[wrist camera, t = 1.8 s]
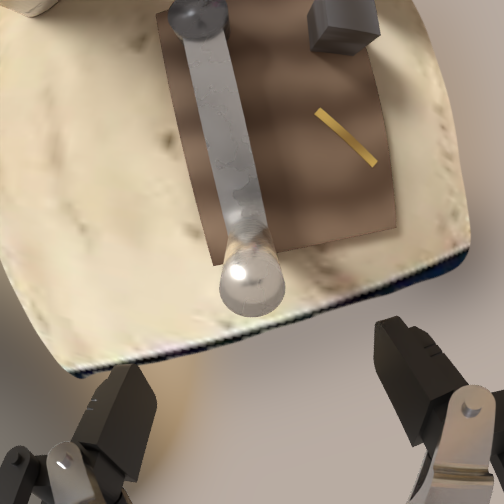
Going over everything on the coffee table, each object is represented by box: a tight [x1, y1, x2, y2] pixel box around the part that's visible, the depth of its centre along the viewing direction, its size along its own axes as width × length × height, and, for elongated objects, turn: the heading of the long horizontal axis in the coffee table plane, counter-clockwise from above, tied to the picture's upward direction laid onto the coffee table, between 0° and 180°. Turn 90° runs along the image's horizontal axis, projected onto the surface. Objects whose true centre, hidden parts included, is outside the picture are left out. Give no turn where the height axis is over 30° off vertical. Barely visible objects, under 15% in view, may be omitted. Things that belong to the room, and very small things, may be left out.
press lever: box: [168, 0, 285, 317], centre depth 16 cm, size 22×4×12 cm, turn 12°
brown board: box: [156, 0, 396, 266], centre depth 20 cm, size 25×18×8 cm
